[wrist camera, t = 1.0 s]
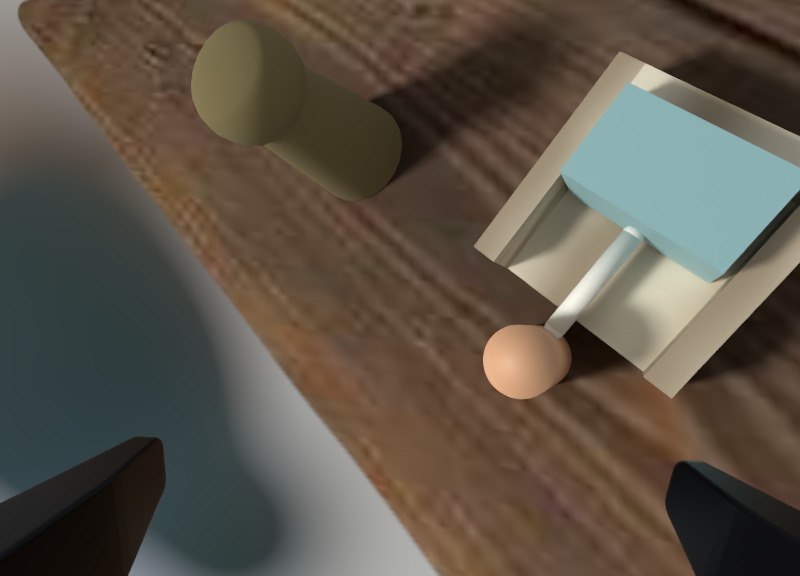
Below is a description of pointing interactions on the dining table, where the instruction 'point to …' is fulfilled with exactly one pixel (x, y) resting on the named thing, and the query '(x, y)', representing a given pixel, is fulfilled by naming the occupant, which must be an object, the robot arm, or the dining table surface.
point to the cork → (293, 111)
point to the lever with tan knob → (649, 216)
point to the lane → (646, 267)
